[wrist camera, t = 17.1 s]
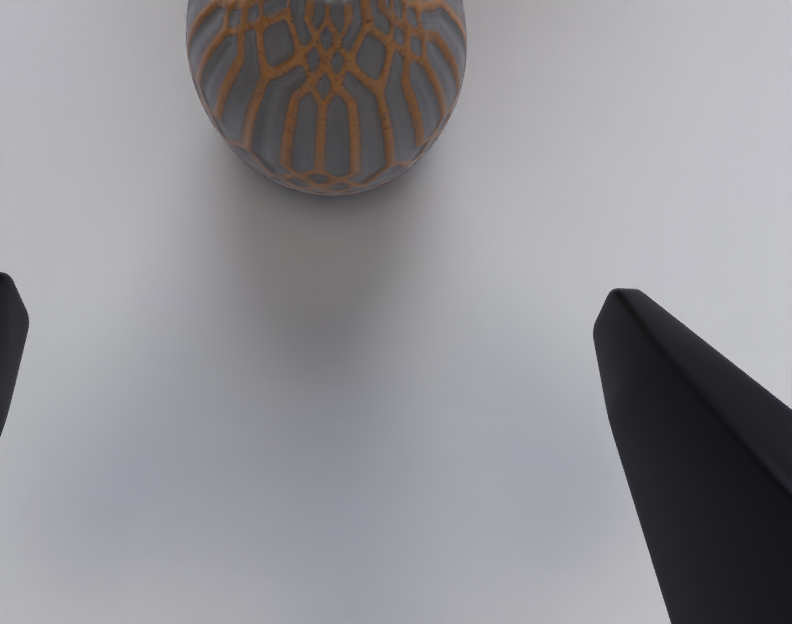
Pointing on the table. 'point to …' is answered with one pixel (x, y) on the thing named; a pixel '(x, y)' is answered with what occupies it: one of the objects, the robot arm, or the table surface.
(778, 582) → the robot arm
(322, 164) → the vase
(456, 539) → the table surface
